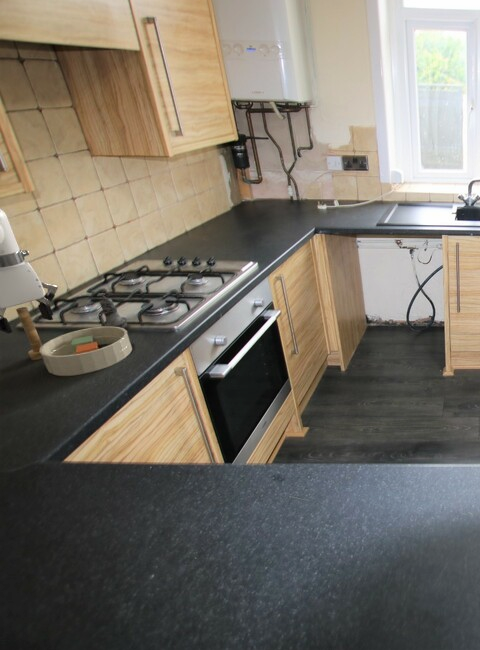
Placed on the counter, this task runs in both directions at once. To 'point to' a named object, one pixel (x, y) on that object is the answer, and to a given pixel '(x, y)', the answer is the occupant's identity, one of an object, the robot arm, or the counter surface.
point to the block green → (81, 341)
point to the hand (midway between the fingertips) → (28, 325)
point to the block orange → (86, 348)
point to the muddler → (30, 333)
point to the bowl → (68, 363)
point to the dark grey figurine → (112, 314)
